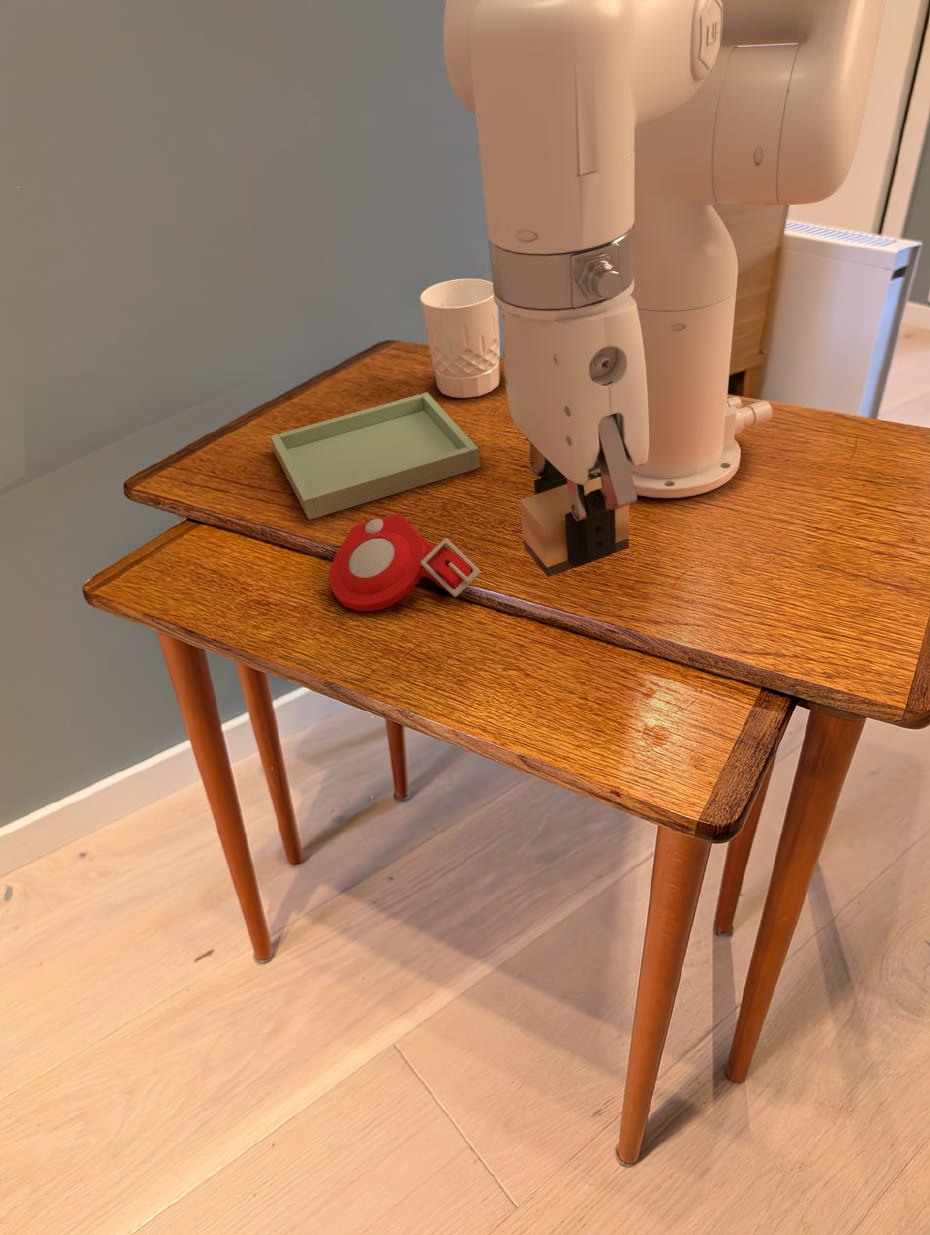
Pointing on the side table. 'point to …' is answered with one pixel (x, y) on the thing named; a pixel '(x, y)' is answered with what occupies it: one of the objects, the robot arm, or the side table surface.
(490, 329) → the white cup
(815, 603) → the side table surface
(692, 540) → the side table surface
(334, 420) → the tray
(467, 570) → the tracker holder
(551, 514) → the eraser
